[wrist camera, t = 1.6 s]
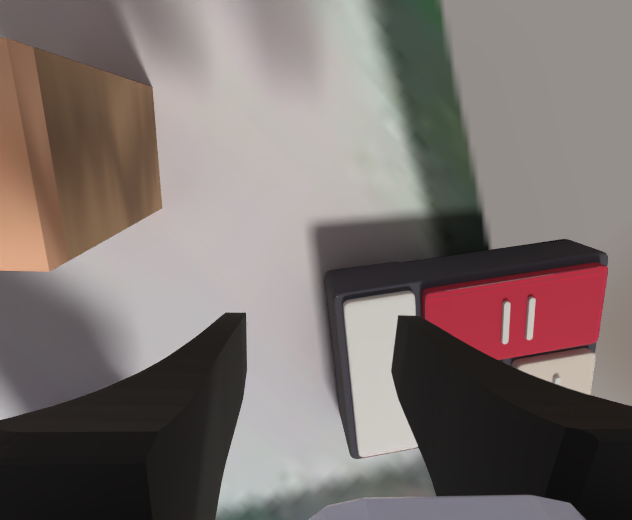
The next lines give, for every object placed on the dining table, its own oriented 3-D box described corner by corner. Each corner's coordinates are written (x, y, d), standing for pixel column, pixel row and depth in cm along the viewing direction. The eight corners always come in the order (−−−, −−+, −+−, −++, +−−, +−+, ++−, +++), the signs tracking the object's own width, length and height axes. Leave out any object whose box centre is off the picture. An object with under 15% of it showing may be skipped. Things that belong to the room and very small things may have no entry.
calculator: (597, 427, 23) (353, 472, 22) (547, 383, 27) (340, 419, 26) (623, 255, 19) (334, 299, 18) (562, 234, 23) (323, 269, 22)
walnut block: (162, 208, 20) (49, 271, 11) (85, 205, 20) (-99, 268, 11) (152, 86, 19) (6, 38, 9) (67, 82, 18) (-174, 26, 9)
